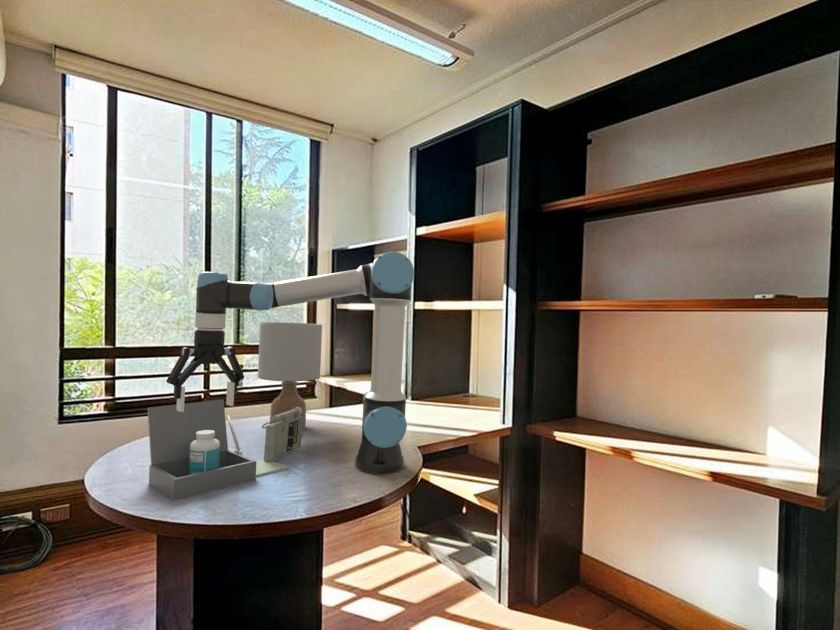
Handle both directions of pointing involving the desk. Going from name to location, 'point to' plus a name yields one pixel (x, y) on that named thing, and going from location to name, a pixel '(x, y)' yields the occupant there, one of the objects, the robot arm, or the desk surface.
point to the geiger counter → (283, 434)
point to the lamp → (289, 360)
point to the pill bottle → (204, 452)
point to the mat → (268, 467)
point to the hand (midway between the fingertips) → (205, 408)
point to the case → (173, 450)
